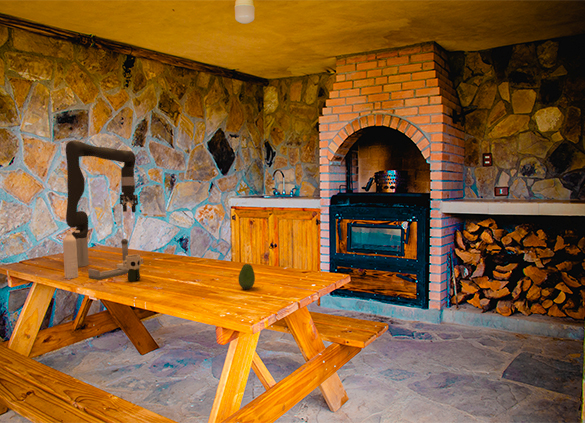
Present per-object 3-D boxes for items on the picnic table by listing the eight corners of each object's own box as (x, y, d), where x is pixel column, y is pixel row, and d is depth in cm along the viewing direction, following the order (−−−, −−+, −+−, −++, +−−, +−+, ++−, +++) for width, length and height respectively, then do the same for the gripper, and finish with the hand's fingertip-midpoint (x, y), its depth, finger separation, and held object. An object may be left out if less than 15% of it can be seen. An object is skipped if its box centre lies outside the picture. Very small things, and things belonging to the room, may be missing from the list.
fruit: (256, 290, 200) (256, 264, 199) (240, 291, 198) (239, 266, 197) (253, 285, 207) (252, 261, 206) (237, 287, 205) (236, 262, 204)
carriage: (116, 268, 240) (115, 239, 239) (127, 265, 246) (126, 237, 244) (123, 269, 237) (122, 240, 235) (134, 266, 242) (133, 238, 241)
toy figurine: (127, 283, 215) (126, 258, 214) (120, 281, 220) (119, 256, 219) (147, 279, 223) (146, 255, 222) (140, 277, 228) (139, 253, 227)
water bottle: (67, 279, 226) (64, 232, 223) (63, 277, 230) (60, 231, 228) (84, 276, 232) (82, 230, 230) (79, 274, 236) (77, 230, 234)
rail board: (88, 278, 228) (88, 268, 228) (129, 269, 249) (129, 260, 248) (98, 280, 223) (97, 270, 223) (139, 271, 243) (139, 262, 243)
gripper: (115, 184, 253) (116, 212, 254) (129, 184, 244) (131, 213, 246) (126, 184, 259) (127, 211, 260) (141, 184, 251) (142, 212, 252)
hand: (129, 212), depth 253 cm, fingers open, 8 cm apart
